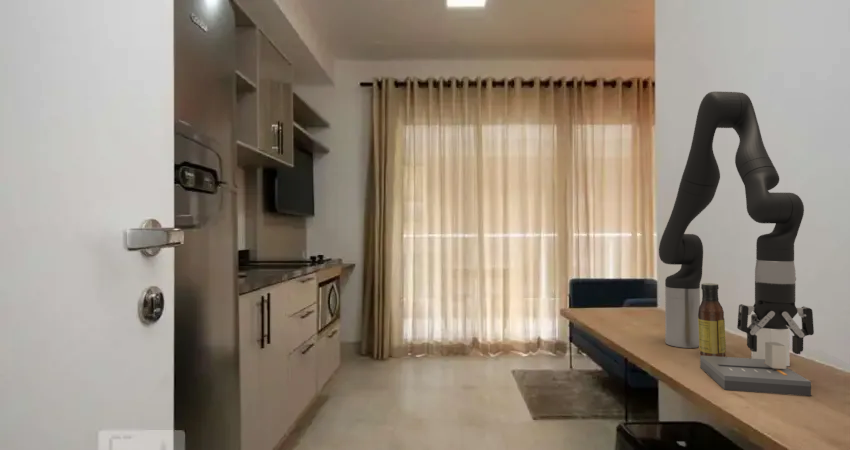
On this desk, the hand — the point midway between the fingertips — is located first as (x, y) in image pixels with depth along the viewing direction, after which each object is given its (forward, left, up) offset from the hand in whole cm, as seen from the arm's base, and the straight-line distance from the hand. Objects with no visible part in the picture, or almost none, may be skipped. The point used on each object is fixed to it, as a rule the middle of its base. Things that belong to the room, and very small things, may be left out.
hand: (774, 352), depth 112 cm
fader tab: (0, 0, -4) cm, 4 cm away
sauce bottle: (-21, -7, -7) cm, 23 cm away
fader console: (0, -5, -7) cm, 8 cm away
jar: (-19, +6, -7) cm, 21 cm away
